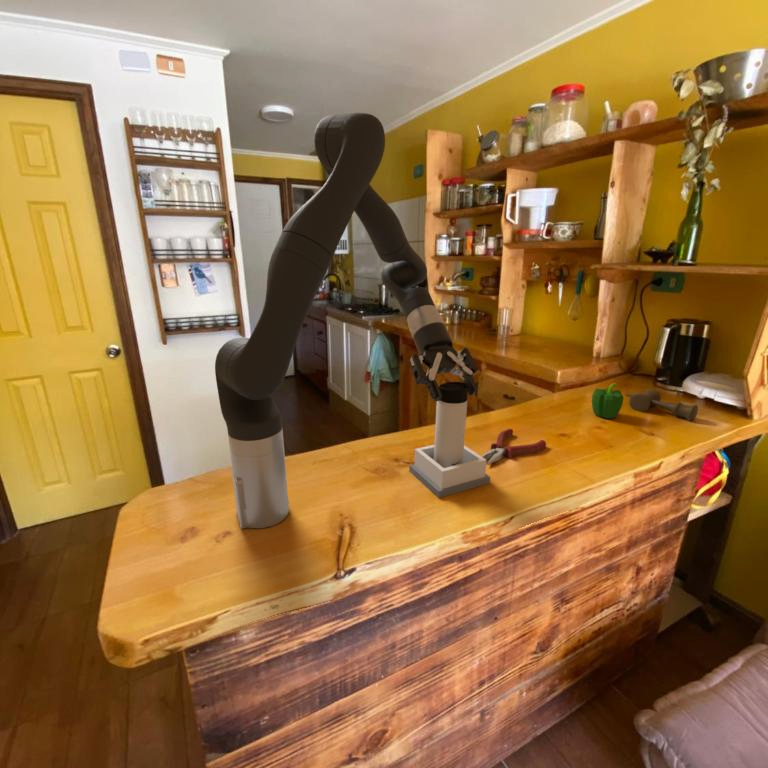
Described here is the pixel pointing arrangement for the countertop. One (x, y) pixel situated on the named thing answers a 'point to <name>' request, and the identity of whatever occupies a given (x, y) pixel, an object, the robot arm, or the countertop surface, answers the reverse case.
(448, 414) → the travel mug
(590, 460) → the countertop surface
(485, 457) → the pliers
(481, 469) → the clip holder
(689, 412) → the kendama
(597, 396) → the bell pepper
